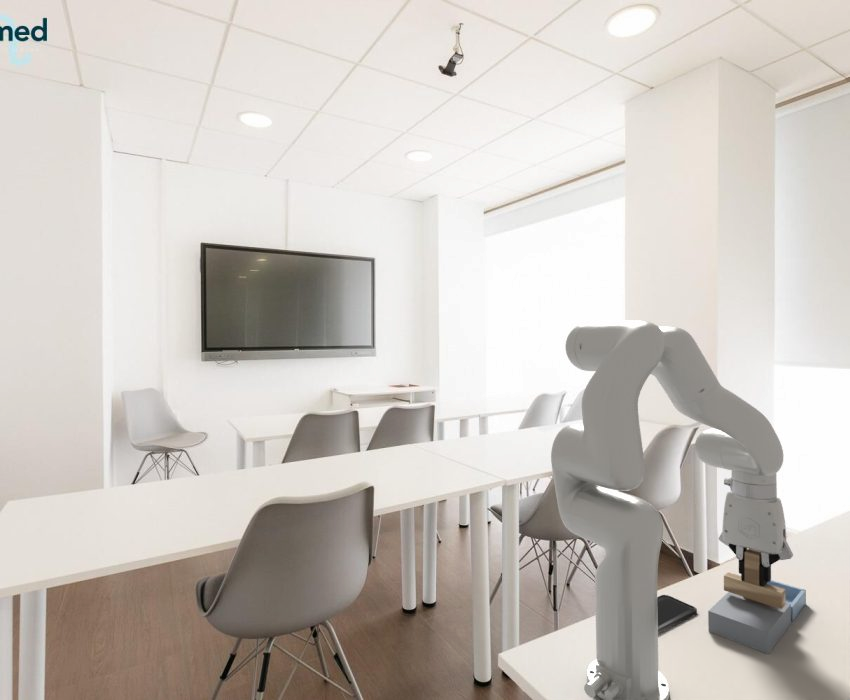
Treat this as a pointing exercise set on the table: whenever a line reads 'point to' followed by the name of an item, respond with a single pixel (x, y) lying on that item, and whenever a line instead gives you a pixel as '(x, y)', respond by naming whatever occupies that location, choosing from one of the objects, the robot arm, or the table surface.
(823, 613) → the table surface
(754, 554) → the scraper
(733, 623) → the gray rectangular block
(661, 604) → the phone
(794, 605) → the tray
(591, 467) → the robot arm
